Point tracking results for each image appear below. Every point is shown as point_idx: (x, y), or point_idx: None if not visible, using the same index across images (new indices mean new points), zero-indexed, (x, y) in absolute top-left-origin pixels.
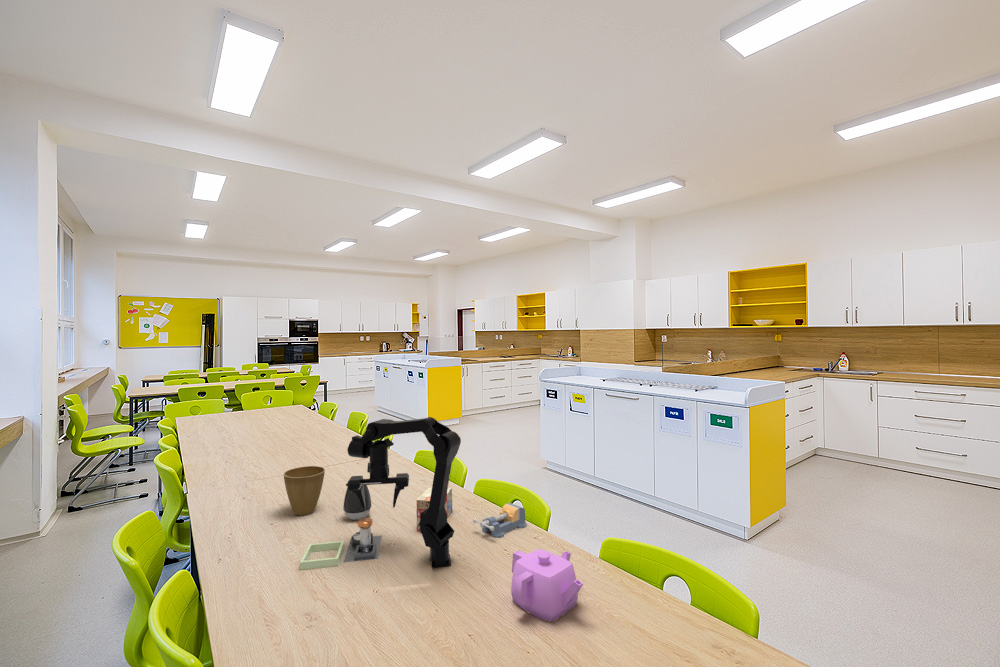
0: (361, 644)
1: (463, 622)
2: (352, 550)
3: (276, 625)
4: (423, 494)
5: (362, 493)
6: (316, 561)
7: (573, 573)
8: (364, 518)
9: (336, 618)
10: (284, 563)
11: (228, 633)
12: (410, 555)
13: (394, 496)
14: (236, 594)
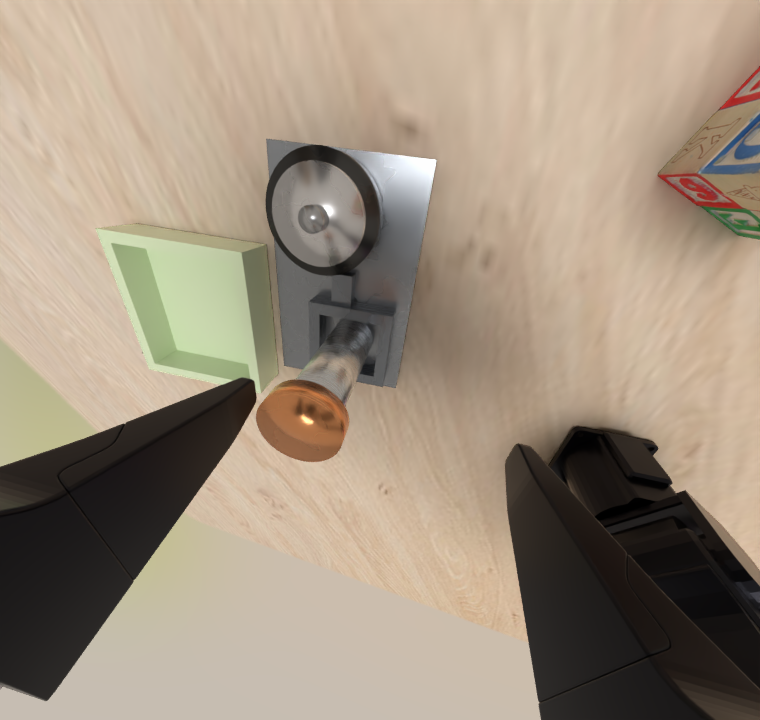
0: (360, 568)
1: (519, 600)
2: (299, 291)
3: (224, 495)
4: None
5: (99, 590)
6: (198, 377)
7: None
8: (288, 397)
9: (316, 519)
10: (92, 271)
11: None
12: (518, 384)
13: (537, 645)
14: (84, 386)
